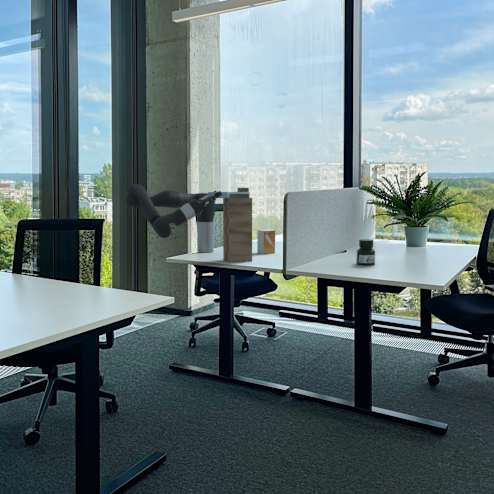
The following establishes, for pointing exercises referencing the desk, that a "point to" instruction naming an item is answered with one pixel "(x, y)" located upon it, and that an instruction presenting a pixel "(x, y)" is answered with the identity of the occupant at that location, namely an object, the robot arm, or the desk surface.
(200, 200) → the robot arm
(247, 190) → the pale blue long bar
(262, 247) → the small box
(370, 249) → the ink bottle
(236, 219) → the stand
